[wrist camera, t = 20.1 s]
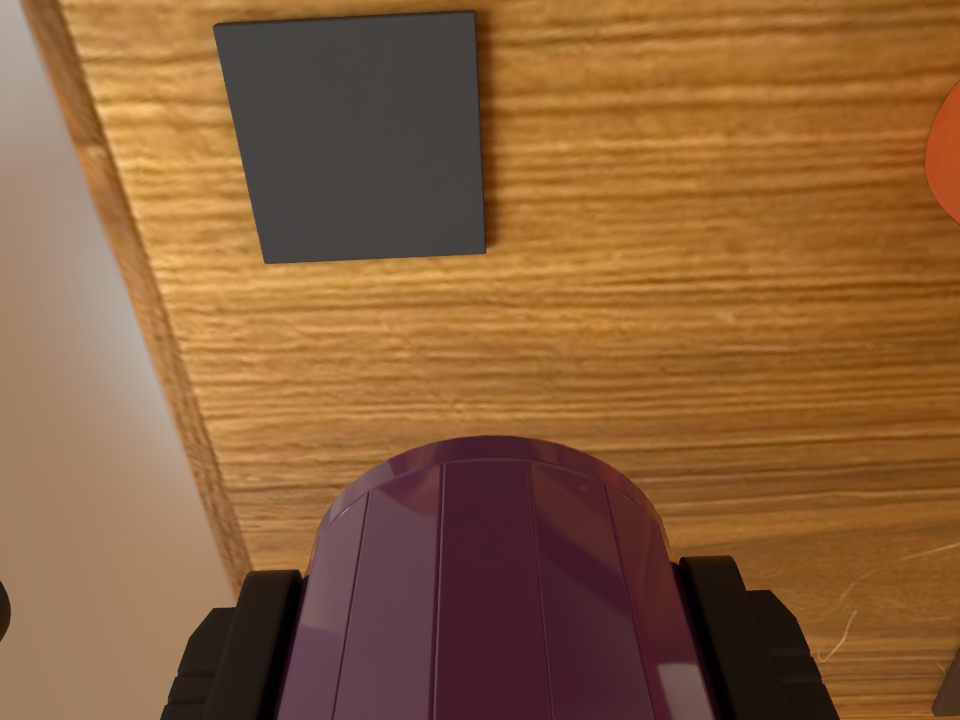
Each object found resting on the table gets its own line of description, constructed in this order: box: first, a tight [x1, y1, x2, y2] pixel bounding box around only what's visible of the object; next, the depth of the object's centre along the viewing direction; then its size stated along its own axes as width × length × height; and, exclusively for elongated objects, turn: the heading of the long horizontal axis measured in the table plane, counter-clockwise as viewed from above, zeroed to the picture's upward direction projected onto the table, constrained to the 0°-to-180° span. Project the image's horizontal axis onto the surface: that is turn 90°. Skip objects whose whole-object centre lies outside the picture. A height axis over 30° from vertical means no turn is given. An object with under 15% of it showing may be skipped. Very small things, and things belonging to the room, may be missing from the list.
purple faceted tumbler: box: [270, 435, 725, 720], centre depth 10 cm, size 6×6×5 cm
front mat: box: [213, 10, 486, 264], centre depth 22 cm, size 7×7×1 cm
